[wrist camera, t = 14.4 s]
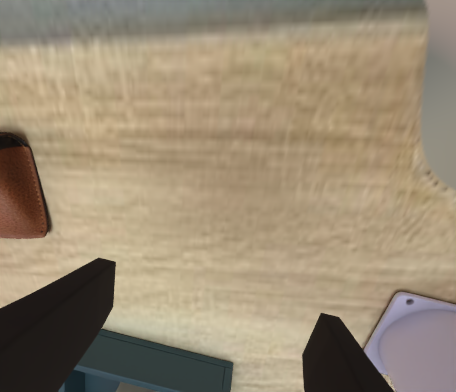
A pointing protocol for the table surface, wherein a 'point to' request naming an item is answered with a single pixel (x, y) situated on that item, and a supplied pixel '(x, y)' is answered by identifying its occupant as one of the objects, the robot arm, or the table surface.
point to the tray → (145, 367)
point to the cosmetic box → (131, 388)
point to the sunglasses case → (20, 191)
